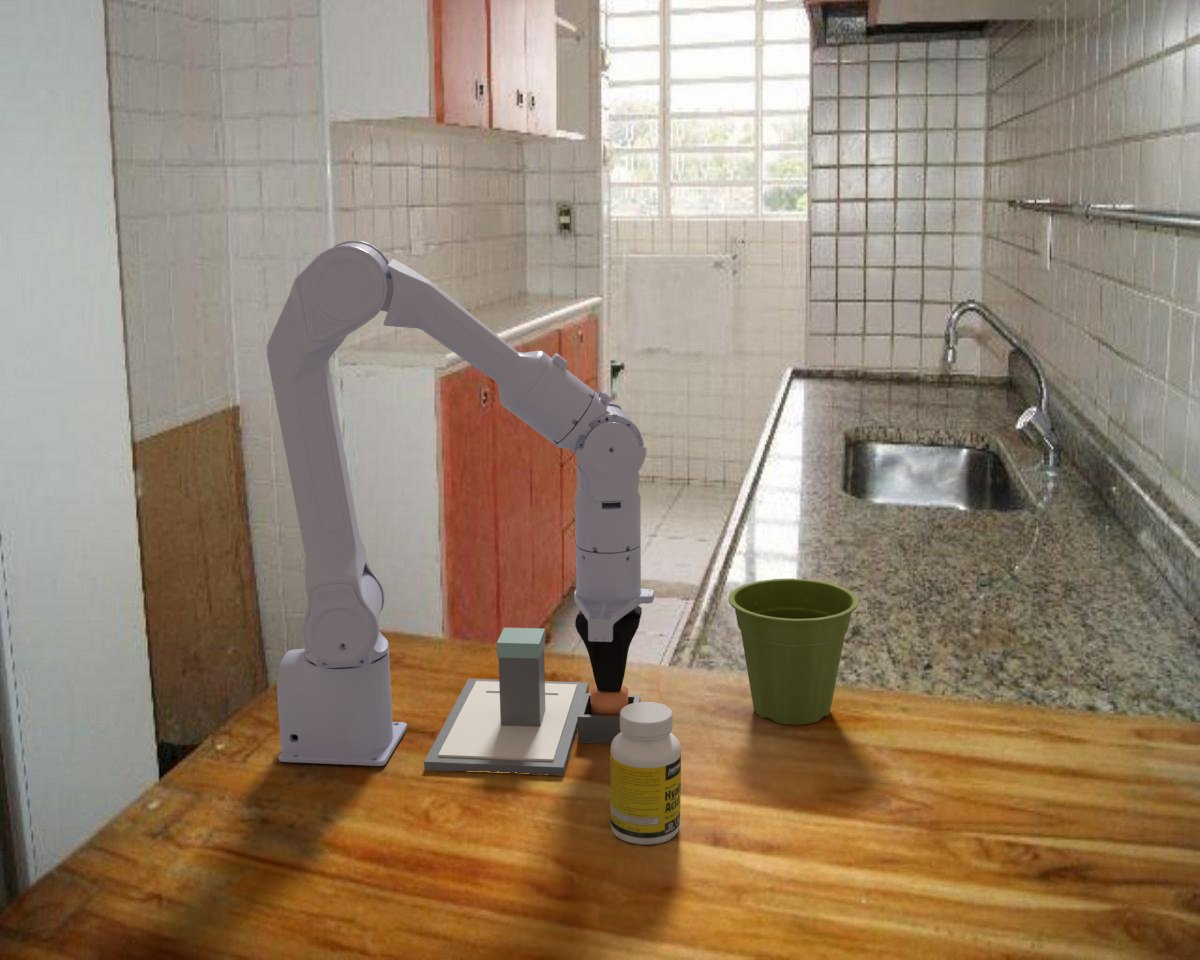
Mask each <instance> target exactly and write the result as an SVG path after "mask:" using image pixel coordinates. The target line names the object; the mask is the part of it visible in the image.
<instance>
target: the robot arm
mask: <svg viewBox="0 0 1200 960" xmlns="http://www.w3.org/2000/svg"><path fill="white" fill-rule="evenodd" d="M381 311H382V312H387V313H386V315H385V317H384V320H383V324H382V325H383V326H385V327H395V328H407V329H408V328H409V329H419V330H420V331H423V332H424V333H426V334H427V335H429V336H430V337H431V338H433V339H434V340H436V342H439V343H440V344H441V345H443V346H444V347H446V348H447V349H449V350H450V351H452V352H453V353H454V354H456V355H457V356H458V357H460V358H462V359H463V360H464V361H466V362H467V363H468V364H470V365H472V367H474V368H476V369H477V370H478V371H480V372H481V373H482V374H485V376H487V377H488V378H490V379H491V380H493V381H494V382H496V383H497V389H498V395H499V396H498V397H499V398H498V399H499V402H500V405H501V406H502V407H503V408H505V409H506V410H507V411H509V412H510V413H512V414H513V415H514V416H515V417H517V418H518V419H519V420H521V421H523V422H524V423H525V424H526V425H527V426H529V427H530V428H531V429H533V430H534V431H536V433H538V434H540V435H541V436H542V437H543V438H545V439H546V440H547V441H549V442H551V444H553V445H555V446H556V447H557V448H559V449H565V450H569V451H572V453H573V455H574V457H575V459H576V462H577V464H576V485H577V486H576V487H577V489H576V492H575V493H574V518H575V521H574V523H575V526H574V527H575V529H574V531H575V576H576V580H575V581H576V583H575V584H576V589H575V590H574V592H573V596H574V598H573V599H574V600H573V601H574V603H575V604H576V606H577V608H579V612H578V613H577V614H576V618H575V620H574V624H575V629H576V632H577V633H578V635H579V636H580V638H581V639H582V642H583V643H584V645H585V646H584V647H585V649H586V651H587V653H588V657H589V661H590V665H591V671H592V674H593V675H592V676H593V679H594V682H595V685H596V686H597V689H598V691H613V692H619V691H620V690H621V687H622V685H623V683H624V678H625V673H626V667H627V661H628V656H629V649H630V646H631V643H632V641H633V638H634V637H635V635H636V633H637V632H638V631H637V630H638V629H639V626H640V621H641V618H642V613H643V612H642V611H643V609H642V607H641V606H640V605H641V604H652V603H653V602H654V599H655V590H654V589H652V588H651V589H650V588H642V579H641V576H642V575H641V574H642V573H641V572H642V571H641V569H642V564H641V562H642V561H641V555H642V554H641V552H642V549H641V546H642V545H641V542H642V541H641V539H642V538H641V535H642V534H641V533H642V531H641V529H642V528H641V525H642V524H641V521H642V519H641V518H642V516H641V492H640V490H639V484H640V470H641V468H642V467H643V464H644V462H645V461H646V457H647V456H646V455H647V450H648V449H647V448H646V447H645V445H644V438H643V436H642V434H641V432H640V430H639V427H637V425H636V423H634V421H633V420H632V418H631V417H630V416H629V414H628V413H626V412H625V411H624V410H623V409H622V407H621V405H620V404H617V403H614V402H611V401H612V397H611V396H610V395H609V394H608V393H607V392H605V391H604V390H601V391H599V393H598V392H597V391H596V390H594V389H592V387H590V386H588V385H587V384H586V383H585V382H583V381H582V380H580V379H579V377H577V376H576V375H574V374H573V373H572V372H571V371H570V370H568V369H566V368H567V367H568V366H569V363H568V361H567V360H566V359H565V358H563V357H562V356H561V355H560V354H559V353H554V354H553V355H552V357H550V355H548V353H547V352H544V351H542V350H534V351H533V350H532V351H527V352H520V351H517V350H516V349H515V348H514V347H513V346H511V345H510V344H509V343H508V342H506V341H505V340H504V339H503V338H501V337H500V336H499V335H498V334H497V333H495V332H494V331H493V330H492V329H490V328H489V327H488V326H486V325H485V324H484V323H483V322H482V321H480V320H479V319H478V318H477V317H475V316H474V315H473V314H472V313H471V312H470V311H468V310H467V309H465V307H463V306H462V304H460V303H459V302H457V301H456V300H455V299H453V297H451V296H450V295H448V293H446V292H445V291H444V290H442V289H441V288H440V287H439V286H437V285H436V284H435V283H434V282H432V281H431V280H429V279H428V278H426V277H425V276H423V275H422V274H420V273H419V272H417V271H416V270H413V269H412V268H410V267H409V266H407V265H406V264H404V263H402V262H400V261H399V260H396V259H394V258H392V259H391V260H390V261H389V259H387V256H386V255H385V254H384V253H383V252H382V251H381V250H380V249H379V248H377V247H376V246H374V245H373V244H371V243H368V242H366V241H361V240H354V239H353V240H346V241H342V242H339V243H337V244H336V245H334V246H332V247H331V248H328V249H326V250H324V251H322V252H321V253H320V254H319V255H317V256H316V257H315V258H314V259H313V260H312V261H311V263H310V264H309V265H308V266H307V267H306V268H304V269H303V270H302V272H300V273H299V274H298V275H297V277H295V279H294V281H293V284H292V287H291V289H290V293H289V295H288V297H287V299H286V302H285V303H284V306H283V308H282V311H281V313H280V315H279V317H278V320H277V322H276V323H275V326H274V328H273V330H272V333H271V336H269V339H268V341H267V345H266V357H267V358H266V359H267V362H268V368H269V373H270V378H271V384H272V388H273V390H272V391H273V395H274V399H275V400H274V401H275V405H276V410H277V415H278V421H279V426H280V431H281V436H282V440H283V446H284V451H285V458H286V463H287V467H288V472H289V473H288V474H289V478H290V484H291V489H292V494H293V499H294V504H295V510H296V514H297V515H296V516H297V520H298V525H299V531H300V535H301V541H302V547H303V552H304V587H305V588H304V590H305V595H306V600H307V601H306V602H307V607H306V612H305V615H304V617H303V620H302V624H301V625H302V626H301V635H302V639H303V643H304V646H305V648H295V649H290V650H287V652H286V653H285V654H284V656H283V657H282V659H281V662H280V665H279V669H278V673H277V681H276V683H277V684H276V698H277V711H278V725H279V737H280V748H281V750H280V751H281V752H280V754H279V755H278V760H279V762H281V763H296V764H297V763H299V764H300V763H301V764H322V765H323V764H326V765H347V766H352V765H353V766H372V767H374V766H375V767H381V766H384V765H386V764H387V762H388V760H389V759H390V757H391V756H392V754H393V752H394V751H395V749H396V747H397V745H398V744H399V742H400V741H401V739H402V738H403V735H404V734H405V733H406V730H407V729H408V723H406V722H404V721H393V720H394V719H393V701H392V684H391V681H392V680H391V668H390V667H391V664H390V645H389V643H390V642H389V641H388V640H387V638H386V637H385V636H384V635H383V634H382V632H381V631H380V630H379V629H380V625H379V622H380V617H381V613H382V611H383V608H384V605H385V596H386V595H385V590H384V586H383V584H382V582H381V580H380V578H379V577H378V576H377V575H376V574H375V572H374V571H373V570H372V568H371V566H370V564H369V561H368V557H367V556H368V555H367V551H366V548H365V546H364V543H363V541H362V539H361V534H360V529H359V524H358V519H357V514H356V508H355V503H354V502H355V501H354V497H353V490H352V486H351V480H350V475H349V468H348V464H347V458H346V452H345V447H344V440H343V435H342V430H341V424H340V423H341V422H340V419H339V412H338V407H337V402H336V396H335V391H334V384H333V380H332V374H331V368H330V362H329V361H330V358H331V357H332V356H333V355H334V354H335V352H336V351H337V349H339V347H340V346H341V344H342V343H343V342H344V341H345V339H347V337H348V335H350V334H351V333H352V332H355V331H356V330H358V329H360V328H361V327H362V326H364V325H366V324H367V323H369V322H370V321H371V320H373V319H375V318H376V316H377V315H378V314H379V313H380V312H381Z"/></svg>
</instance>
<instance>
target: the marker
mask: <svg viewBox="0 0 1200 960" xmlns="http://www.w3.org/2000/svg"><path fill="white" fill-rule="evenodd" d="M545 644H546V628H538V627H537V628H534V627H503V628H502V631H501V633H500V635H499V637H498V640H497V641H496V654H497V655H496V657H497V658H498V680H499V687H500V718H501V726H532V727H540V726H541V723H542V720H543V716H544V713H545V710H546V708H545V681H546V678H545V677H546V672H545V671H546V670H545V669H546V668H545V667H546V666H545Z"/></svg>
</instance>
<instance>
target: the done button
mask: <svg viewBox="0 0 1200 960" xmlns="http://www.w3.org/2000/svg"><path fill="white" fill-rule="evenodd" d="M590 693H591V713H592V714H593V715H610V716H620V711H621V709H622V708H623V707H625V706H626V705H628V695H629V688H628V687H627V686H626V685H624V684H622V687H621V690H620V691H619V692H613V691H598V689H597V686H596V684H595V685H593V686H592V687H591V688H590Z"/></svg>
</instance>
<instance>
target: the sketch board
mask: <svg viewBox="0 0 1200 960" xmlns="http://www.w3.org/2000/svg"><path fill="white" fill-rule="evenodd" d="M584 693H589V682H581V681H580V682H579V681H552V680H551V681H549V680H545V708H546V710H545V713H544V716H543V720H542V723H541V726H540V727H532V726H501V718H500V687H499V679H498V678H497V679H496V678H495V679H492V678H489V679H488V678H468V679H467V681H466V683H465V685H464V686H463V688H462V690H461V692H460V694H459V696H458V697H457V699H456V702H455V703H454V705H453V706H452V708H451V710H450V712H449V715H448V716H447V718H446V720H445V722H444V724H443V726H442V727H441V730H440V731H439V733H438V734H437V736H436V739H435V741H433V744H432V746H431V748H430V750H429V752H428V753H427V755H426V758H425V759H424V762H423V767H424V769H423V770H424V771H433V772H435V771H437V772H454V771H490V772H497V771H499V772H510V773H515V772H517V773H529V774H542V775H541V776H545V775H544V774H548V775H547V776H549V775H560V776H559V777H564V776H565V773H566V769H567V766H568V763H569V759H570V756H569V755H571V753H570V752H571V751H572V749H573V745H574V742H575V738H576V735H577V733H578V719H577V717H578V713H579V710H580V706H581V703H582V700H583V696H584ZM567 762H568V763H567Z"/></svg>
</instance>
